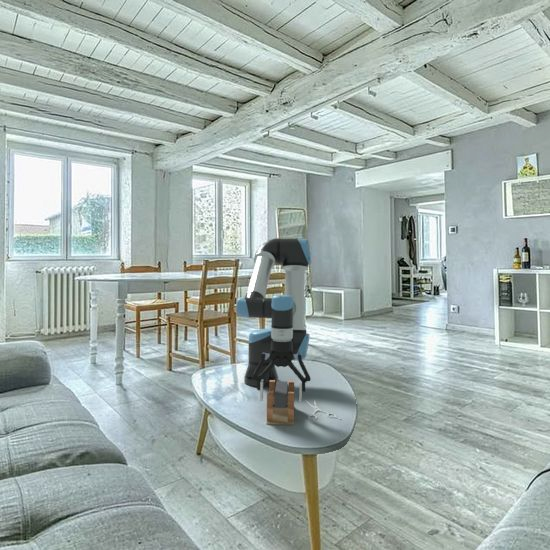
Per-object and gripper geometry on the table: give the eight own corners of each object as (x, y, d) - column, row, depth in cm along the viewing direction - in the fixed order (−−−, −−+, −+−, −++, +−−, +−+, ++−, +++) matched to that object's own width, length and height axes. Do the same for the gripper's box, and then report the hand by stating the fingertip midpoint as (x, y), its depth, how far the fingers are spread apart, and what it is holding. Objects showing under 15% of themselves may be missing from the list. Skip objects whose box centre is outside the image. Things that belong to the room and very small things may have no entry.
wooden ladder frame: (269, 405, 143) (269, 379, 142) (293, 406, 142) (294, 379, 142) (266, 424, 127) (266, 394, 126) (293, 425, 126) (294, 395, 126)
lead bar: (276, 391, 142) (276, 381, 142) (287, 392, 142) (287, 381, 142) (274, 407, 127) (274, 395, 127) (286, 407, 127) (286, 395, 127)
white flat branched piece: (311, 421, 129) (296, 399, 148) (311, 423, 129) (295, 401, 149) (341, 419, 131) (322, 397, 151) (341, 421, 131) (322, 399, 151)
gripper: (244, 340, 130) (244, 402, 131) (318, 342, 129) (317, 405, 130) (247, 336, 138) (246, 395, 138) (317, 338, 137) (316, 397, 137)
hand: (281, 400), depth 134 cm, fingers open, 13 cm apart
